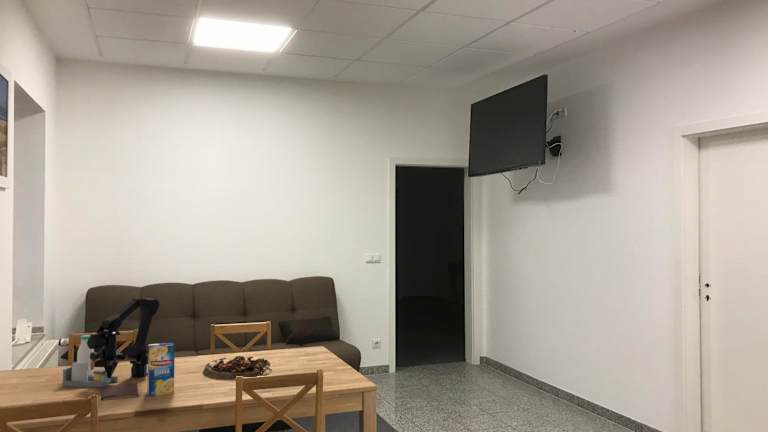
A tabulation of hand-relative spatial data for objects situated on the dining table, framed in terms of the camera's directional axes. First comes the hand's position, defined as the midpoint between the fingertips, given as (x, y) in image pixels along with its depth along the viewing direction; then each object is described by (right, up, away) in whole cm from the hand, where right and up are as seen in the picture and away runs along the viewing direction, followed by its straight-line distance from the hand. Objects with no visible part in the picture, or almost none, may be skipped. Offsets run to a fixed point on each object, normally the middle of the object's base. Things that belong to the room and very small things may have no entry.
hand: (109, 377), depth 285 cm
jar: (-5, -3, 0) cm, 6 cm away
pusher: (-2, -3, 0) cm, 3 cm away
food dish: (+54, -5, +27) cm, 61 cm away
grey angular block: (-15, -3, +1) cm, 15 cm away
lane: (-9, -3, 0) cm, 9 cm away
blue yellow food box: (+30, -3, -14) cm, 33 cm away
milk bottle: (-20, -3, +17) cm, 26 cm away
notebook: (+11, -4, -13) cm, 18 cm away
